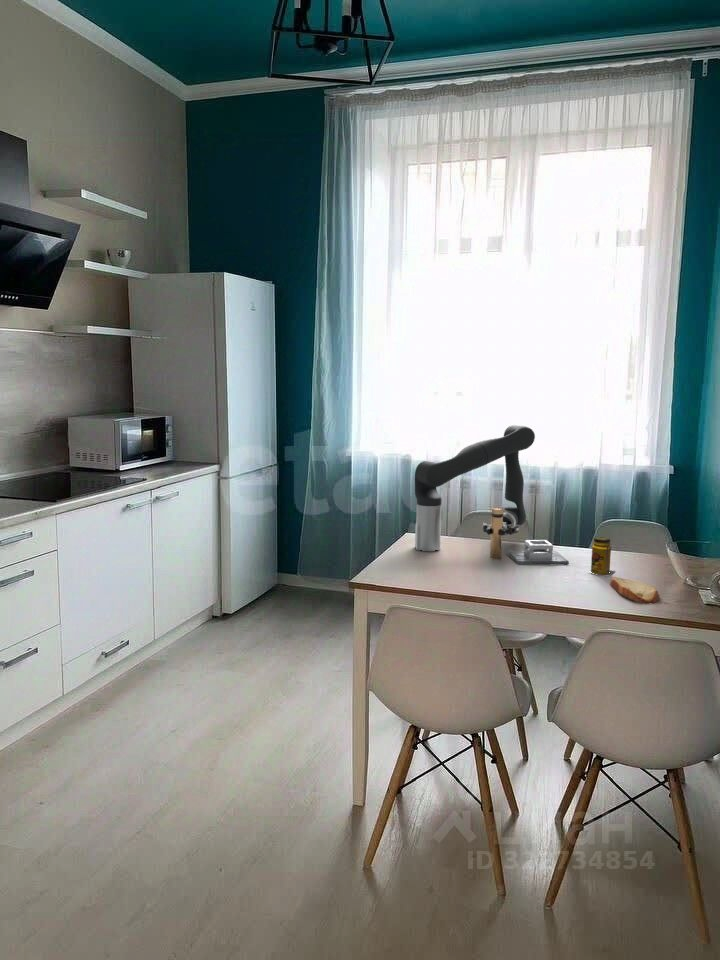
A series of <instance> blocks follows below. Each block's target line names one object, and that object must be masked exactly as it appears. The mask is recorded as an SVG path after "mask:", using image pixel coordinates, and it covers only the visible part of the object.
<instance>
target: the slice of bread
mask: <svg viewBox="0 0 720 960" xmlns="http://www.w3.org/2000/svg"><path fill="white" fill-rule="evenodd" d="M609 585H610V587H611V588H612V589H613V590H614V591H615V590H616V591H615V592H617V594H619V595H620V596H622V597H624V598H626V599H628V600H630V601H632V602H635V603H638V602H639V603H638V604H643V603H644V605H645V604H646V605H649V603H652V604H656V603H657V601H658V600H660V593H659V592H658V589H657V588H655V587H653V586H651V585H650V584H646V583H645V584H644V583H643V582H639V581H637V580H636V581H635V580H630V579H626V578H621V577H620V578H619V577H612V578H611V580H610V582H609Z"/></svg>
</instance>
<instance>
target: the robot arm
mask: <svg viewBox="0 0 720 960" xmlns="http://www.w3.org/2000/svg"><path fill="white" fill-rule="evenodd" d="M535 439H536V434H535V432H534V430H533V429H532V428H531V427H528V426H526V425H516V424H515V425H509V426H507V428H505V430H504V432H503V436H500V437H497V438H491V439H490V438H489V439H486V440H485V439H484V440H481V441H478V442H475V443H473V444H470V445H467V446H466V447H464V448H462V449H461V450H460V451H459V452H458V453H457V454H456V455H455V456H453V457H452V458H449V459H446V460H444V461H440V462H434V461H430V460H424V461H423V460H422V461H421V462H419V463H418V464H417V465H416V468H415V472H414V494H415V498H416V520H415V521H416V522H415V525H414V526H415V529H414V530H415V531H414V532H415V534H414V535H415V536H414V548H415V547H416V548H415V550H416V551H420V550H422V551H421V552H436V551H435V550H438V551H440V550H441V534H442V533H441V531H442V530H441V528H442V497H441V495H440V494H439V493H438V490H437V488H438V487H441V486H443V485H444V484H446V483H448V482H449V481H451V480H453V479H455V478H457V477H459V476H462V475H464V474H467V473H469V472H471V471H474V470H476V469H479V468H482V467H484V466H486V465H488V464H490V463H493V462H494V461H497V460H499V459H501V458H503V457H504V460H505V461H504V462H505V486H504V487H505V490H504V498H505V500H506V501H508V502H512V503H513V504H515V506H516V507H515V506H514V507H513V506H502V507H501V509H503V513H504V515H503V525H502V529H501V531H500V536H502V537H503V536H507V535H513V534H518V533H519V527H520V526H522V525H523V526H524V523H526V520H527V515H526V514H527V513H526V509H525V506H524V496H523V495H524V485H525V483H524V475H523V471H522V468H521V464H520V461H519V459H520V458H519V454H520V453H519V452H520V451H524V450H527V449H528V448H530V447H531V446H532V445H533V444H534V442H535ZM482 531H483V532H484V533H486V534H487V535H490V536H491V522H490V523H489V524H488V523H487V522H484V521H483V522H482ZM439 549H440V550H439Z"/></svg>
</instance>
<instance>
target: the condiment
mask: <svg viewBox="0 0 720 960" xmlns="http://www.w3.org/2000/svg"><path fill="white" fill-rule="evenodd" d="M611 553H612V548H611V539H610V538H608V537H604V536H597V537H594V538H593V544H592V546H591V560H590V561H591V563H590V571H591V572H592V573H594V574H593V575H595V574H598V575H597V576H603V577H610V576H612V575H613V574H614V573H615V572H616V570H613V569H612V570H611ZM609 572H610V573H609ZM589 574H591V573H589ZM591 575H592V574H591Z"/></svg>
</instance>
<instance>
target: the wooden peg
mask: <svg viewBox="0 0 720 960" xmlns="http://www.w3.org/2000/svg"><path fill="white" fill-rule="evenodd" d="M501 508H502V507H501ZM501 508H499V507H493V508H491V513H490V516H491V520H490V521H491V522H490V523H491V534H490V545H489V546H490V547H489V559H491V558H493V559H492V560H501V559H502V545H503V542H502V541H503V536H500V531H501V529H502V525H503V515H504V513H503V509H501Z"/></svg>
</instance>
